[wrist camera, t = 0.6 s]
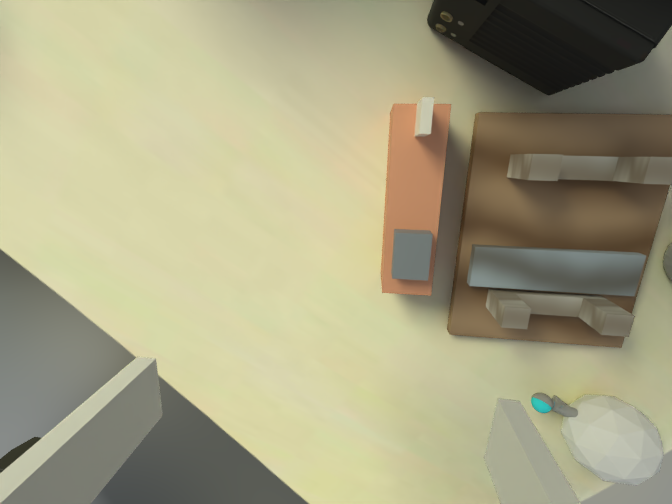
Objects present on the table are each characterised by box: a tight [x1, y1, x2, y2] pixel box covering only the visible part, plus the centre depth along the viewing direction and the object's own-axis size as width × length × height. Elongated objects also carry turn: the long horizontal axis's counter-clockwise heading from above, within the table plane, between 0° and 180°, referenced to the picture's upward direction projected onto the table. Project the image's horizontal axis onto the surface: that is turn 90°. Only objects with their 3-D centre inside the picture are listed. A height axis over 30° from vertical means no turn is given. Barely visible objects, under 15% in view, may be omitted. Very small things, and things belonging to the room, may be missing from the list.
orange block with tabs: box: [381, 97, 451, 295], centre depth 29 cm, size 16×4×9 cm, turn 179°
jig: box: [447, 112, 672, 348], centre depth 30 cm, size 22×17×6 cm
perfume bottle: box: [531, 393, 663, 486], centre depth 34 cm, size 8×8×12 cm
